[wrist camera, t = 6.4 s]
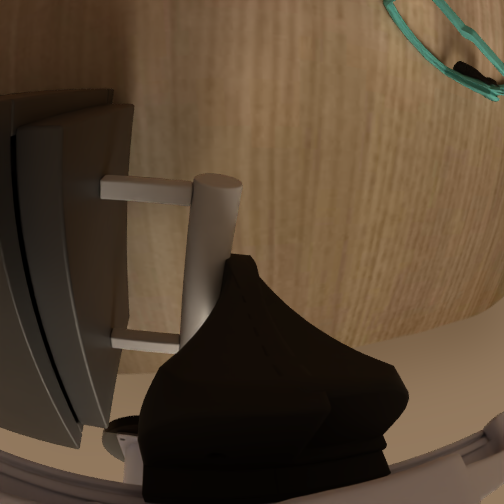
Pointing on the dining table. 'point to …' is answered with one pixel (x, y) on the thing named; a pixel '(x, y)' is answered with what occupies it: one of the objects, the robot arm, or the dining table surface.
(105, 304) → the drawer
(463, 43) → the dining table surface
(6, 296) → the fryer
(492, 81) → the sunglasses
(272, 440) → the robot arm
